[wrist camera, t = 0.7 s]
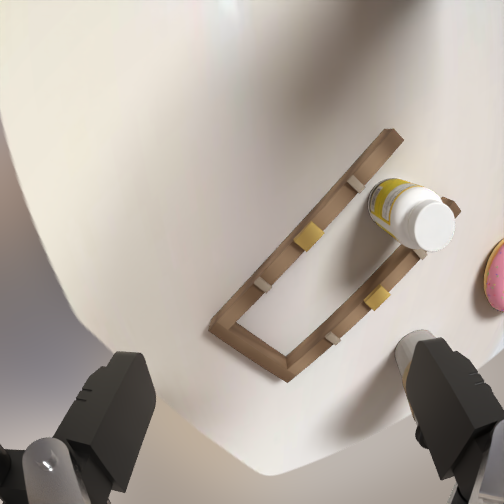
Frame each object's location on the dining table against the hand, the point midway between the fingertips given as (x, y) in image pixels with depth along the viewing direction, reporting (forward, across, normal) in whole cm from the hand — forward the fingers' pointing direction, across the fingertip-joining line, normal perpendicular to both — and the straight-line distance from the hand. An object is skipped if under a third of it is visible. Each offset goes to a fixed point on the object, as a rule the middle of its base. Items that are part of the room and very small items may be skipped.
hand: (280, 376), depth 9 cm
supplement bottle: (+25, -12, +1) cm, 28 cm away
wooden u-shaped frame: (+24, -7, +6) cm, 26 cm away
